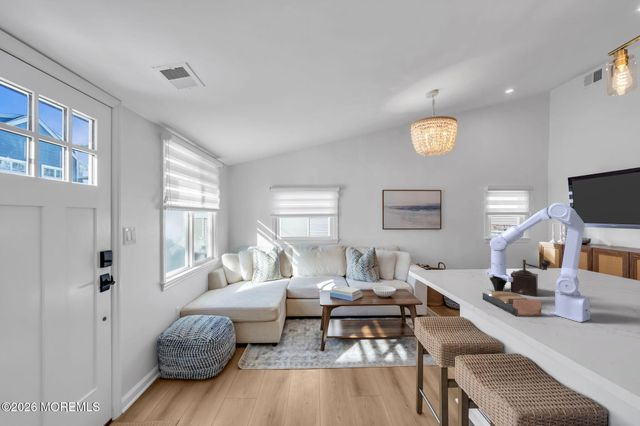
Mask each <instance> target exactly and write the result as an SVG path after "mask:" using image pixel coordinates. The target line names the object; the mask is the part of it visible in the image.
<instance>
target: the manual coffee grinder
mask: <svg viewBox="0 0 640 426" xmlns="http://www.w3.org/2000/svg"><path fill="white" fill-rule="evenodd" d="M539 262H540V265H541V266H537V265H533V264H529V263H527V261H526V259H522V269H520V270H513V271H512V272H511V273H510V277H513V282H510V290H509V291H510V292H513V293H515V294H518V295H521V296H522V295H523V296H530V297H537V296H538V295H539V284H538V283H539V278H538V277H539V273H534V272H531V271H529V270H527V269H526V266H528V267H532V268H536V269H539V270H542V271H548V267H550V266H551V265H552V263H551V261H549V260H548V259H541V260H540V261H539Z"/></svg>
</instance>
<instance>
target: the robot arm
mask: <svg viewBox="0 0 640 426" xmlns="http://www.w3.org/2000/svg"><path fill="white" fill-rule="evenodd" d="M552 219H554V220H556V221H559V222H561V224H563V225H564V226H565V227H566V228H567V232H566V236H565V244H564V250H563V251H564V252H563V257H562V264H561V271H560V273H559V274H560V275H559V276H558V278H557V280H555V281H556V282H555V287H556V289H554V311H553V310H552V311H550V312H549V314H551V315H554V316H557V317H561V318H564V319H568V320H572V321H575V322H578V323H583V322H586V321H589V320H591V319H592V318H591V302H590V301H591V300H590V298H589V297H587V296H584V295H581V292H580V291H579V287H580V281H579V279H578V277H577V276H578V271H579V270H578V269H579V265H580V264H579V263H580V256H581V252H582V245H583V237H584V232H585V226H586V225H585V223H584V221H583V219H582V218H581V217H580V215H578V213H577V212H576V210H575V209H574V208H573V207H572V206H570V205H568V204H567V203H565V202H564V203H563V202H554V203H552V204H551V205H549V206H547V207H545V208H542V209H541V210H538V212H536V213H534V214H533V215H532V216H530V217H529V218H527V219H526V220H524V221H523V222H522V223H520V224H519V225H511V226H508V227H506V230H504V231H502V232H501V233H498V234H496V236H494V237H492V238H491V239H490V240H489V247H490V248H491V249H490V250H491V251H490V267H491V270H488V269H485V275H487V274H489V275H491V276H493V277H490V280H491V282H492V284H493V286H494V290H495V291H503V289H504V286H505V287H506V285H507V283H511V282H513V277H511V275H509V274H508V273H507V247H508V245H509V246H510V245H512V244H513V243H514V242H516V241H518V240H520V239H521V238H523V237H524V233H525V232H526V231H528V230H529V229H531V228H532V227H534V226H535V225H538V224H539V223H540V222H542V221H547V220H552Z"/></svg>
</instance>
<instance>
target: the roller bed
mask: <svg viewBox="0 0 640 426" xmlns="http://www.w3.org/2000/svg"><path fill="white" fill-rule="evenodd" d="M482 300H483V301H485V302H487V303H489V304H490V305H493V306H495V307H497V308H498V309H501V310H503V311H504V312H506V313H509V314H511V315H512V316H515V317H541V316H542V300H541V299H538V298H537V299H536V298H535V299H534V298H533V299H530V298H529V299H528V298H527V299H524V300H513V304H508V303H506V302H504V301H502V300H500V299H497V298H495V297H493V296H492V293H490V294H488V293H485V292H482Z"/></svg>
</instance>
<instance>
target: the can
mask: <svg viewBox="0 0 640 426" xmlns="http://www.w3.org/2000/svg"><path fill="white" fill-rule="evenodd" d="M487 270H491V266H488V269H487ZM486 277H487V279H486V285H487V287H486V288H487V290H488V291H489V290H490V292H492V291H495V290H494V286H493V284H492V282H491V280H490V277H493V276H491V275H489V274H486ZM503 291H506V285H505V286H504V289H503Z"/></svg>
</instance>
